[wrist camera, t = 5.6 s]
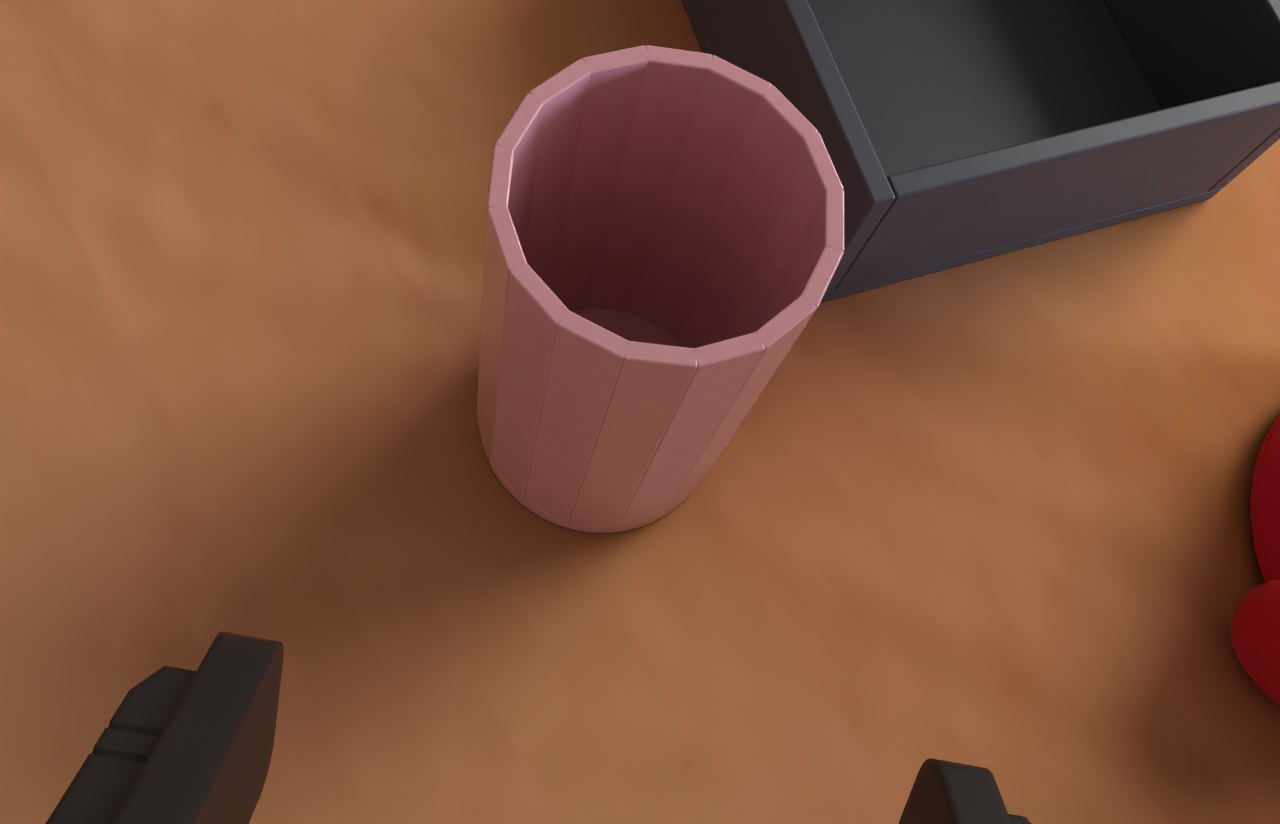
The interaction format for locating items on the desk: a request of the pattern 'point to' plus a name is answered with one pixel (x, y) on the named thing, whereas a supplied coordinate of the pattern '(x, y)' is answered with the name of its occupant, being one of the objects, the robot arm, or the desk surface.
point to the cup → (643, 277)
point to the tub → (1009, 113)
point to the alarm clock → (1275, 611)
